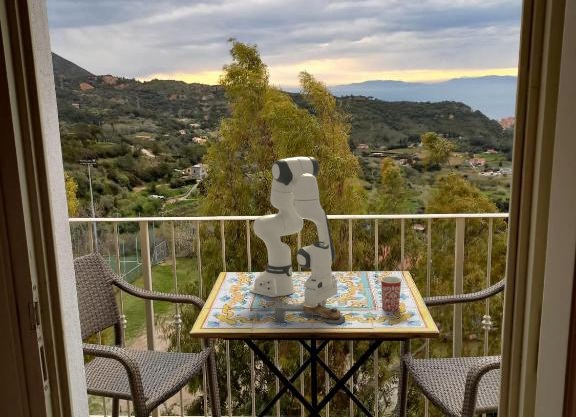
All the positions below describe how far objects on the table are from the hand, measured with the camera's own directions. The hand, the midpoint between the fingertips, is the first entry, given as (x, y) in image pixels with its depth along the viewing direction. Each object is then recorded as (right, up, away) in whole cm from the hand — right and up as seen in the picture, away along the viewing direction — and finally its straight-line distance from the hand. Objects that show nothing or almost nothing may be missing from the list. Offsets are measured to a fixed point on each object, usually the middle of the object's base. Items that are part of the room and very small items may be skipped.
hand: (321, 309), depth 232 cm
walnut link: (-1, -1, -4) cm, 4 cm away
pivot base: (+5, -3, -8) cm, 10 cm away
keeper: (-14, -3, -6) cm, 15 cm away
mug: (+31, 0, +6) cm, 31 cm away
